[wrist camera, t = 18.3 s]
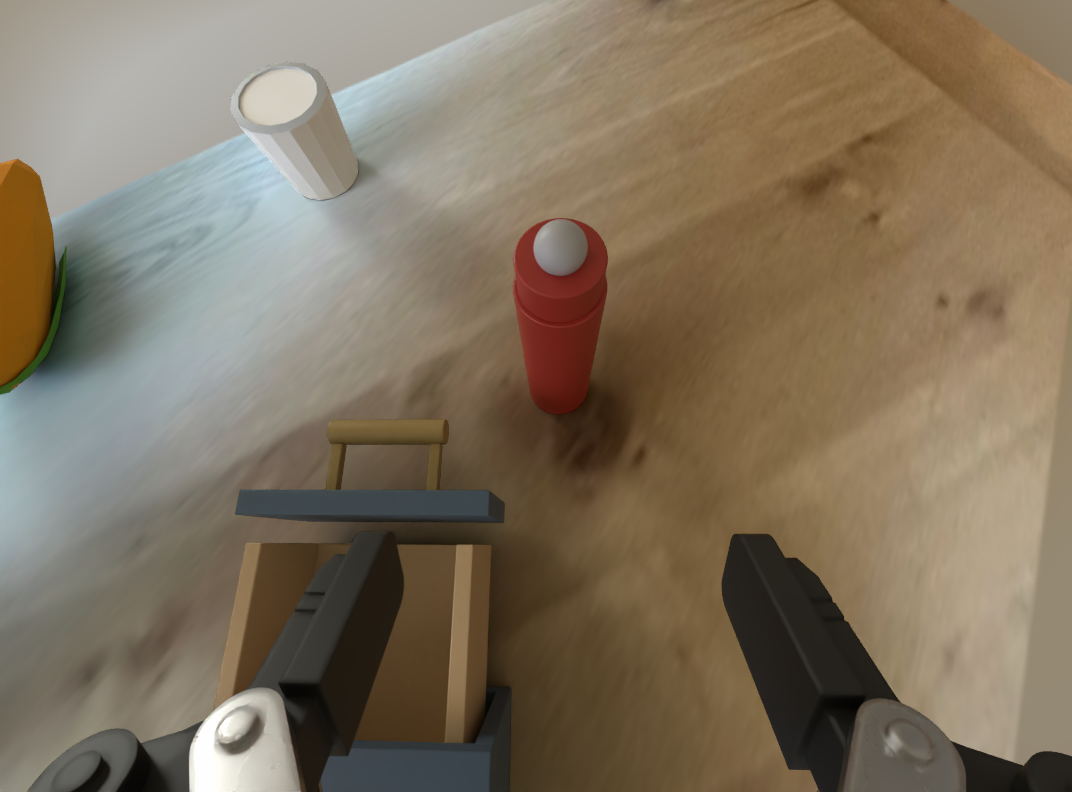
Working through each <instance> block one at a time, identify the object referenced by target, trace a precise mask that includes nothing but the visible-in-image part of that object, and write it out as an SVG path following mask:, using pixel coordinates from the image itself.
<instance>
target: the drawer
mask: <svg viewBox="0 0 1072 792" xmlns="http://www.w3.org/2000/svg"><path fill="white" fill-rule="evenodd" d="M448 437H449V426H448V422H447V420H332V421H331V422H330V423H329V425H328V428H327V438H328V441H329V443H330V444H332V450H331V457H330V463H329V470H328V477H327V483H326V490H240V492H239V497H238V502H237V507H236V512H235V514H236V515H245V516H256V517H266V518H277V519H287V520H298V521H312V522H478V523H504V512H505V503H504V502H503V501H502V500H500V499H499V498H498V497H497V496H495V495H494V494H493V493H492V492H491V491H489V490H439V489H440V475H441V462H442V448H443V446H442V445H445V444H447V442H448ZM346 445H430V450H429V462H428V474H427V486H426V490H340V489H341V482H342V475H343V468H344V461H345V454H346ZM350 546H351V544H329V543H247V544H246V547H245V552H244V557H243V562H242V567H241V572H240V577H239V582H238V587H237V593H236V598H235V603H234V608H233V613H232V618H231V623H230V628H229V633H228V638H227V643H226V648H225V653H224V658H223V663H222V668H221V674H220V679H219V684H218V689H217V694H216V699H215V704H214V709H213V711H214V710H215V709H216V708H217V707H218V706H219V705H221V704H222V703H223V702H225V701H226V700H228V699H229V698H231V697H233V696H234V695H236V694H238V693H240V692H243V691H246V689H247V688H248V687H249V685H250V684H251V682H252V681H253V679H254V677H255V676H256V674H257V672H258V671H259V669H260V667H261V665H262V664H263V662H264V660H265V659H266V657H267V655H268V653H269V652H270V650H271V648H272V647H273V645H274V643H275V641H276V640H277V638H278V636H279V635H280V633H281V631H282V629H283V628H284V626H285V624H286V623H287V621H288V619H289V617H290V616H291V614H293V613H294V609H295V607H296V605H297V604H298V602H299V600H300V599H301V597H302V596H304V592H305V590H306V588H307V587H308V585H309V583H310V581H311V580H312V578H313V576H314V575H315V573H316V571H317V570H319V569H320V568H321V567H322V566H323V565H324V564H325V563H326V562H327V561H328V560H329V559H330V558H332V557H333V556H334V555H335V554H347V552H348V550H349V548H350ZM397 548H398V552H399V557H400V561H401V566H402V570H403V575H404V592H403V598H402V602H401V606H400V608H399V611H398V614H397V617H396V620H395V623H394V626H393V629H392V632H391V634H390V637H389V640H388V643H387V646H386V649H385V652H384V655H383V658H382V660H381V663H380V666H379V669H378V672H377V675H376V678H375V681H374V684H373V686H372V689H371V692H370V695H369V698H368V701H367V704H366V707H365V710H364V712H363V715H362V718H361V721H360V724H359V727H358V730H357V733H356V736H355V738H354V740H365V741H403V742H440V743H475V742H476V740H477V737H478V735H479V732H480V730H481V728H482V725H483V723H484V720H485V704H486V677H487V650H488V622H489V595H490V568H491V545H452V544H397Z"/></svg>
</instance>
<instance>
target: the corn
mask: <svg viewBox="0 0 1072 792" xmlns="http://www.w3.org/2000/svg"><path fill="white" fill-rule="evenodd" d="M66 249H67V245H66V247H65V251H64V254H63V256H62V258H61V260H60V264H59V278H58V285H57V289H56V294H55V299H54V303H53V292H54V281H55V270H56V264H55V251H54V238H53V229H52V224H51V220H50V216H49V212H48V208H47V204H46V200H45V196H44V191H43V187H42V183H41V180H40V176H39V175H38V174H37V173H36V172H35V171H34V170H33V169H32V168H31V167H30V166H28V165H27V164H25V163H23V162H22V161H20V160H19V159H15V160H11V161H7V162H3V163H0V394H4V393H8V392H10V391H11V390H13V389H14V388H15V387H17V386H18V385H19V384H20V383H22V382H23V381H24V380H25V379H27V378H28V377H29V376H30V375H31V374H32V373H33V371H34V370H35V369H36V368H37V366H38V365H39V364H40V363H41V362H42V360H43V359H44V358H45V357H46V355H47V354H48V352H49V349H50V346H51V344H52V341H53V339H54V336H55V333H56V331H57V328H58V325H59V320H60V314H61V309H62V303H63V297H64V291H65V285H66ZM52 303H53V308H52Z"/></svg>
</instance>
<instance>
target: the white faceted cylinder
mask: <svg viewBox="0 0 1072 792" xmlns="http://www.w3.org/2000/svg"><path fill="white" fill-rule="evenodd" d="M231 114H232V116H233V117H234V119H235V121H236V122H237V124H238V125H239V126H240V127H241V129H242V130H243V131H244V132H245V133H246V134H247V135H248V136H249V138H250V139H251V140H252V141H253V142H254V143H255V144H256V145H257V147H258V148H259V149H260V150H261V151H262V152H263V153H264V154H265V155H266V157H267V158H268V159H269V160H270V161H271V162H272V163H273V164H274V166H275V167H276V168H277V169H278V170H279V171H280V172H281V173H282V175H283V176H284V177H285V178H286V179H287V180H288V181H289V182H290V183H291V185H292V186H293V187H294V188H295V189H296V190H297V191H298V192H299V193H300V194H302V195H303V196H305V197H307V198H308V199H315V200H325V199H330V198H334V197H336V196H338V195H340V194H342V193H344V192H346V191H347V190H348V189H349V188H350V187H351V185H352V184H353V183H354V182H355V180H356V177H357V175H358V162H357V159H356V157H355V154H354V152H353V149H352V147H351V144H350V142H349V139H348V137H347V134H346V131H345V129H344V126H343V124H342V121H341V119H340V116H339V114H338V111H337V109H336V106H335V104H334V101H333V99H332V96H331V94H330V91H329V89H328V86H327V83H326V81H325V80H324V79H323V77H322V76H321V74H320V73H319V72H318V70H316V69H314V68H312V67H310V66H308V65H306V64H303V63H293V62H283V63H278V64H272V65H268V66H266V67H264V68H262V69H260V70H257V71H255V72H253V73H251V75H249V76H248V77H247V78H246V79H245V80H244V81H242V82H241V83H240V84H239V85H238V87H237V89H236V91H235V92H234V95H233V96H232V98H231Z"/></svg>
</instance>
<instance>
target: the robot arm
mask: <svg viewBox="0 0 1072 792" xmlns="http://www.w3.org/2000/svg"><path fill="white" fill-rule="evenodd" d="M403 592H404V575H403V570H402V566H401V561H400V557H399V552H398V548H397V543H396V539H395V535H394V533H393V532H390V531H361V532H359V533H358V534H357V535H356V537H355V539H354V540H353V542H352V544H351V546H350V548H349V550H348V552H347V554H335V555H334V556H333V557H332V558H330V559H329V560H328V561H327V562H326V563H325V564H324V565H323V566H322V567H321V568H320V569H319V570H317V571H316V573H315V575H314V576H313V578H312V580H311V581H310V583H309V585H308V587H307V588H306V590H305V592H304V596H302V597H301V599H300V600H299V602H298V604H297V605H296V607H295V609H294V613H293V614H291V616H290V617H289V619H288V621H287V623H286V624H285V626H284V628H283V629H282V631H281V633H280V635H279V636H278V638H277V640H276V641H275V643H274V645H273V647H272V648H271V650H270V652H269V653H268V655H267V657H266V659H265V660H264V662H263V664H262V665H261V667H260V669H259V671H258V672H257V674H256V676H255V677H254V679H253V681H252V682H251V684H250V685H249V687H248V688H247V689H246V691H243V692H240V693H238V694H236V695H234V696H233V697H231V698H229V699H228V700H226V701H225V702H223V703H222V704H221V705H219V706H218V707H217V708H216V709H215V710H214V711H213V712H212V713H211V714H210V715H209V716H208V717H207V718H206V719H205V721H204V722H203V723H202V724H200V725H197V726H195V727H192V728H189V729H186V730H182V731H179V732H176V733H173V734H169V735H166V736H163V737H160V738H157V739H153V740H150V741H147V742H144V743H140V742H139V740H138V739H137V738H136V737H135V735H134V734H133V733H132V732H130V731H129V730H126V729H109V730H105V731H102V732H99V733H97V734H94V735H92V736H90V737H88V738H86V739H84V740H82V741H80V742H79V743H77V744H75V745H74V746H72V747H71V748H70V749H68V750H67V751H65V752H64V753H63V754H62V755H60V756H59V757H58V758H57V759H56V760H55V761H53V762H52V763H51V764H50V765H49V766H48V767H47V768H46V769H45V770H44V771H43V773H42V774H41V775H40V776H39V777H38V778H37V779H36V781H35V782H34V783H33V784H32V786H31V787H30V788H29V790H28V791H27V792H323V788H322V784H321V781H320V779H321V776H322V774H323V771H324V768H325V766H326V763H327V760H328V758H329V756H343V757H348V756H349V753H350V750H351V747H352V744H353V741H354V738H355V736H356V733H357V730H358V727H359V724H360V721H361V718H362V715H363V712H364V710H365V707H366V704H367V701H368V698H369V695H370V692H371V689H372V686H373V684H374V681H375V678H376V675H377V672H378V669H379V666H380V663H381V660H382V658H383V655H384V652H385V649H386V646H387V643H388V640H389V637H390V634H391V632H392V629H393V626H394V623H395V620H396V617H397V614H398V611H399V608H400V606H401V602H402V598H403ZM722 596H723V601H724V605H725V608H726V611H727V613H728V616H729V618H730V621H731V624H732V626H733V629H734V631H735V634H736V636H737V639H738V641H739V644H740V646H741V649H742V652H743V654H744V657H745V659H746V662H747V664H748V667H749V669H750V672H751V674H752V677H753V680H754V682H755V685H756V687H757V690H758V692H759V695H760V697H761V700H762V702H763V705H764V708H765V710H766V713H767V715H768V718H769V720H770V723H771V725H772V728H773V730H774V733H775V736H776V738H777V741H778V743H779V746H780V748H781V751H782V753H783V756H784V758H785V761H786V764H787V766H788V769H789V770H810V771H811V773H812V775H813V778H814V780H815V782H816V785H817V787H818V790H817V792H1072V756H1069V755H1065V754H1062V753H1058V752H1051V751H1049V752H1048V751H1046V752H1039V753H1036V754H1035V755H1033V756H1032V757H1031V758H1030V759H1029V760H1028V761H1027V763H1025V765H1024V766H1023V765H1019V764H1017V763H1014V762H1010V761H1007V760H1004V759H1001V758H998V757H995V756H992V755H989V754H986V753H983V752H980V751H977V750H974V749H971V748H968V747H965V746H962V745H960V744H957V743H954V742H952V741H950V740H949V738H948V737H947V736H946V735H945V734H944V733H943V732H942V731H941V730H940V729H939V728H938V727H937V726H936V725H935V724H934V723H933V722H932V721H930V720H929V719H928V718H927V717H925V716H924V715H922V714H921V713H920V712H918V711H916V710H914V709H913V708H911V707H909V706H907V705H905V704H902V703H901V702H900V701H899V700H898V698H897V697H896V696H895V694H894V693H893V691H892V690H891V688H890V687H889V685H888V684H887V682H886V680H885V679H884V677H883V676H882V674H881V673H880V671H879V670H878V668H877V667H876V665H875V664H874V662H873V660H872V659H871V657H870V656H869V654H868V653H867V651H866V650H865V648H864V647H863V645H862V644H861V642H860V640H859V639H858V637H857V636H856V634H855V633H854V631H853V630H852V628H851V627H850V625H849V623H848V622H846V621H845V620H844V616H843V614H842V613H841V611H840V610H839V608H838V607H837V605H836V603H833V601H832V597H831V596H830V594H829V593H828V591H827V590H826V588H825V587H824V585H823V583H822V582H821V580H820V579H819V577H818V576H817V575H816V574H815V573H813V572H812V571H811V570H810V569H809V568H808V567H806V566H805V565H804V564H803V563H802V562H801V561H800V560H798V559H797V558H785V557H784V555H783V553H782V552H781V550H780V548H779V547H778V545H777V543H776V542H775V540H774V539H773V537H772V536H771V535H769V534H734V535H733V536H732V538H731V542H730V546H729V551H728V555H727V560H726V564H725V569H724V573H723V577H722Z"/></svg>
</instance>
